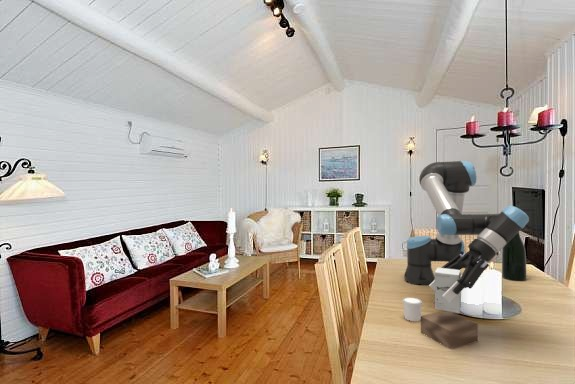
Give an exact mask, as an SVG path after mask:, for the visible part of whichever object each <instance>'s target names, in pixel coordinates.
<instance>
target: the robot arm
mask: <svg viewBox="0 0 575 384" xmlns="http://www.w3.org/2000/svg"><path fill="white" fill-rule="evenodd" d="M418 181H419V184H420V187H421V189H422V190H424V191H425V192H426V193H427V196H428V198H429V199H430V202H431V204H432V206H433V207H434V210H435V211H436V214H437V216H436V220H435V225H436V226H435V227H436V230H437V233H436V235H435V238H431V236H430V235H417V236H416V235H415V236H413V237H409V238H408V239H407V240H406V242H407V243H406V251H407V252H406V253H407V254H406V256H407V257H406V259H407V266H406V269H405V272H404V274H403V275H404V277H403V279H405V280H406V281H408V282H407V283H409V282H410V283H409V284H412V283H414V284H413V285H417V284H421V285H420V286H429V287H430V288H431V289H432V291H434V292H435V272H434V271H433V268H432V263H433V262H446V263H445V264H444V265H443V266H441V267H440V268H447V269H455V270H462V269H464V270H463V273H461V278H460V280H457V281H458V282H459V283H458V282H457V281H456V282H455V283H454V284H453V285H452V286H451V287H450V288H449V289H448V290H447V291H446V292H445V293H444V294H443V295H442V296H443V297H444V298H445V299H446V300H447V301H448V302H450V301H451V300H452V299H453V298H454V297H455V296H456V295H457V294H459V293H460V292H461V293H462V291H463V290H464V289H467V288H468V289H472V288H473V287H474V285H475V284H476V283H477V281H478V279H479V278H480V277H481V275H483V273H484V271H485V270H486V269H487V268H489V266H490V264H488V262H491V260H493V258H495V256H496V255H497V253H499V252H500V251H501V250H502V249H503V247H504V246H505V245H506V244H507V243H508V242H509V241H510V240H511V239H512V238H513V237H514V236H515V235H516V234H517V233H518V232H519V233H520V231H521V230H523V229H524V228H525V226H526V225H527V224H528V223H529V221H530V217H529V215H528V214H527V213H526V212H525V211H523V210H522V209H520V208H519V207H518V206H517V207H516V206H514V205H509V206H506V207H505V208H504V209H502V210H501V212H500V213H481V214H480V213H476V214H474V213H473V214H472V213H470V214H466V213H463V208H464V201H465V195H466V194H467V193H468V192H469V191H470V187H473V186H476V184H477V172H476V168H475V165H474V164H473V163H472V162H470V161H465V160H458V161H455V160H453V161H436V162H432V163H429V164H427V165H426V166H425V167H424V168H423V169H422V170H421V172H420V174H419V179H418ZM467 235H468V236H476V238H474V239H473V240H472V241H471V242H470V243H469V244H468V249H469V250H468V251H465V243H464V240H462V238H461V236H467ZM405 280H404V281H405ZM406 281H405V282H406Z"/></svg>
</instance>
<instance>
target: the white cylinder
mask: <svg viewBox="0 0 575 384" xmlns="http://www.w3.org/2000/svg"><path fill="white" fill-rule="evenodd" d="M422 303H423V301H422V300H421V299H419V298H417V297H404V298H402V305H403V313H404V314H403V315H404V316H403V317H404V319H405V320H406V319H407V321H409V320H410V322H413V321H417V322H421V316H422V307H423V306H422Z"/></svg>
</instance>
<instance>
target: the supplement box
mask: <svg viewBox="0 0 575 384" xmlns="http://www.w3.org/2000/svg"><path fill="white" fill-rule="evenodd" d="M434 276H435V291H434V309H435V310H436V311H437V310H439V311H449V312H451V313H454V314H460V313H461V307H462V291H461V292H460V293H459V294H457V295H456V296H455V297H454V298H453V299H452V300H451V301H450V302H448V301H447V300H446V299H445V298H444V297H443V296H442V295H443V294H444V293H445V292H446V291H447V290H448V289H449V288H450V287H451V286H452V285H453V284H454V283H455V282H456V281H457V280H460V278H461V276H462V269H460V270H455V269H447V268H441V267H437V268H436V269H435V271H434ZM457 282H458V281H457ZM458 283H459V282H458Z"/></svg>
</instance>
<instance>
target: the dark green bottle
mask: <svg viewBox="0 0 575 384" xmlns="http://www.w3.org/2000/svg"><path fill="white" fill-rule="evenodd" d="M501 250H502V251H501V275H502V277H503V278H504V279H505V280H509V281H516V282H517V281H518V282H520V281H521V282H522V281H525V280H526V281H527V256H526V255H527V254H526V247H525V244H524V241H523V240H522V238H521V235H520V231H519V232H518V233H517V234H516V235H515V236H514V237H513V238H512V239H511V240H510V241H509V242H508V243H507V244H506V245H505V246H504V247H503V249H501Z"/></svg>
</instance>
